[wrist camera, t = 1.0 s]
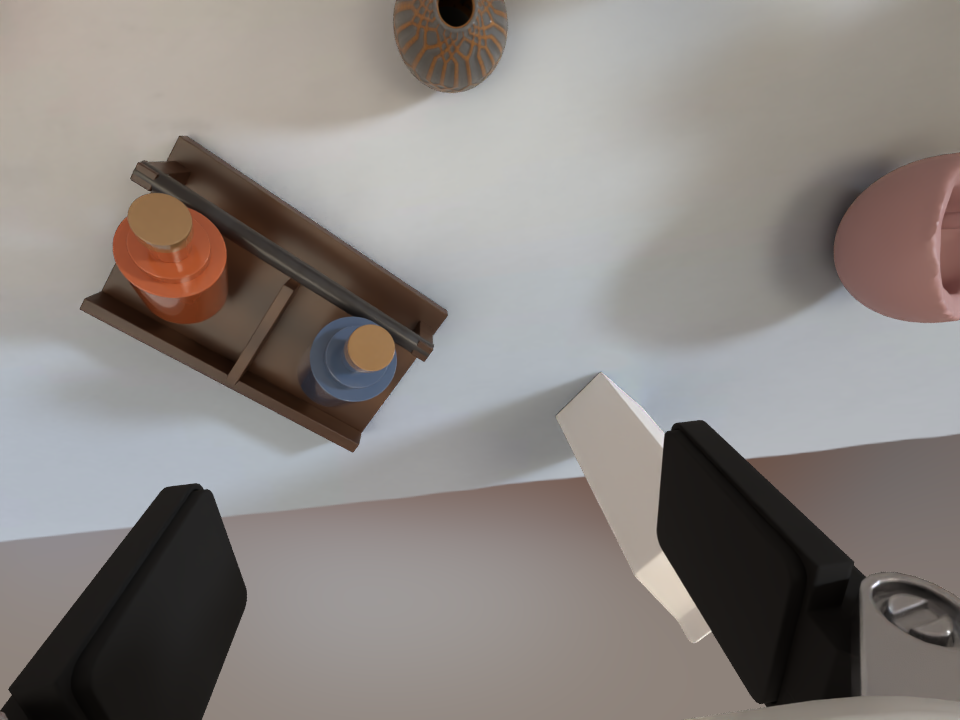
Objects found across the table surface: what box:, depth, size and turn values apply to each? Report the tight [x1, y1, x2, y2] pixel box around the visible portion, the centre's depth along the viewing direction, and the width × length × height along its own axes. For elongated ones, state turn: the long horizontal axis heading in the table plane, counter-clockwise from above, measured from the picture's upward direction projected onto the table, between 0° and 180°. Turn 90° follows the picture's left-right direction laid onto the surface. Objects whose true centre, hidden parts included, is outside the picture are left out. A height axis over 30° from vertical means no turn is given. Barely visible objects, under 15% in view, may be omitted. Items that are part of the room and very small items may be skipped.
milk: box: [556, 372, 711, 643], centre depth 36 cm, size 6×6×22 cm
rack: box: [80, 136, 448, 452], centre depth 37 cm, size 14×22×6 cm, turn 53°
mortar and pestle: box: [834, 153, 960, 323], centre depth 37 cm, size 12×12×12 cm
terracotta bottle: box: [113, 193, 229, 324], centre depth 30 cm, size 6×6×12 cm
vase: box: [393, 0, 508, 93], centre depth 29 cm, size 7×7×9 cm
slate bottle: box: [297, 317, 397, 408], centre depth 33 cm, size 6×6×12 cm
